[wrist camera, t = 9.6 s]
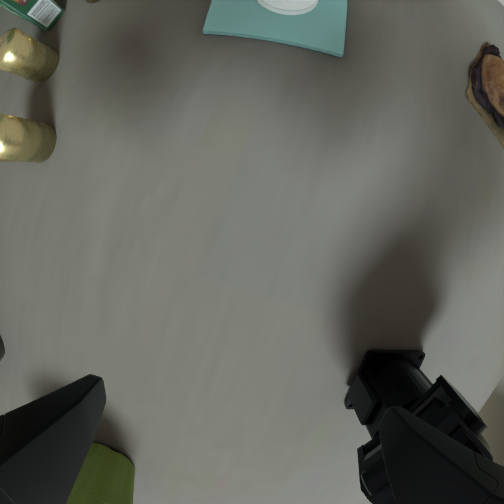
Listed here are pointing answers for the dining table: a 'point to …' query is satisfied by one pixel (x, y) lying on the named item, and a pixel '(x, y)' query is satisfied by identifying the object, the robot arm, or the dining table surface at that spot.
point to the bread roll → (488, 89)
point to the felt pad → (281, 24)
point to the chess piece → (289, 6)
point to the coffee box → (35, 11)
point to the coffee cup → (1, 349)
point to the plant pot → (104, 478)
